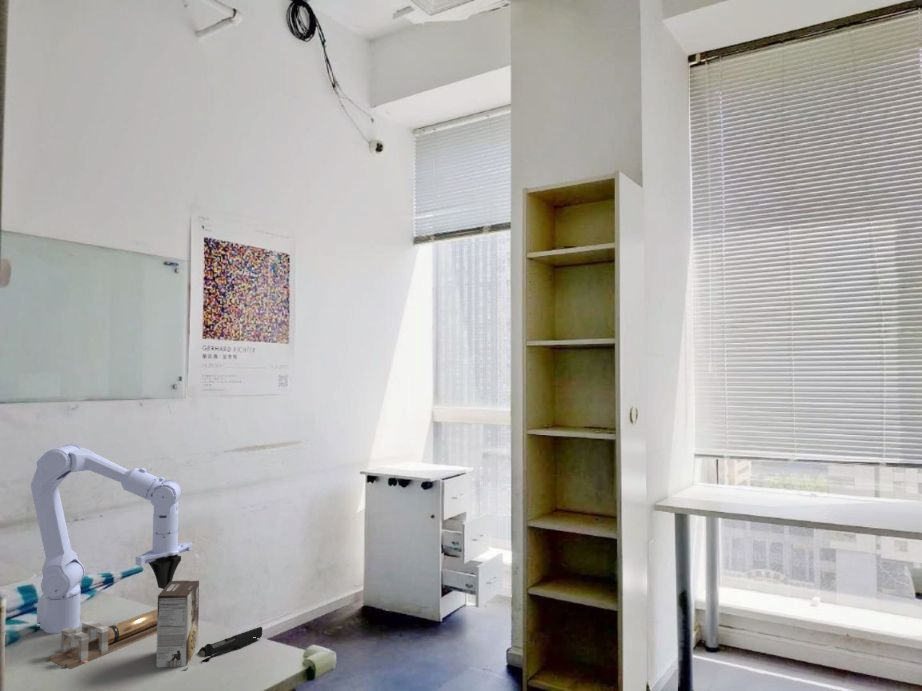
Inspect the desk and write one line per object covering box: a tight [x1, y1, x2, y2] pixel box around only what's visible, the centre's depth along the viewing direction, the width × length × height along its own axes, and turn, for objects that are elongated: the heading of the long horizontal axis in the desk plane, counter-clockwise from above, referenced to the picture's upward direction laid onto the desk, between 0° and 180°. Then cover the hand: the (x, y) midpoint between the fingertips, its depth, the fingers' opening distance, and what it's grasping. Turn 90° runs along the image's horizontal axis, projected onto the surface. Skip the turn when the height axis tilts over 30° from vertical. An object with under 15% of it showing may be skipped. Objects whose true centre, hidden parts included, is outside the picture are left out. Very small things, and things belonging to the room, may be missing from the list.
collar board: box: [45, 620, 157, 670], centre depth 148 cm, size 9×26×6 cm, turn 152°
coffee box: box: [155, 580, 200, 672], centre depth 141 cm, size 9×6×16 cm
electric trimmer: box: [197, 626, 263, 663], centre depth 147 cm, size 4×16×3 cm, turn 141°
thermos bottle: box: [96, 608, 158, 644], centre depth 152 cm, size 16×4×4 cm, turn 152°
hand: (164, 587), depth 159 cm, fingers closed
